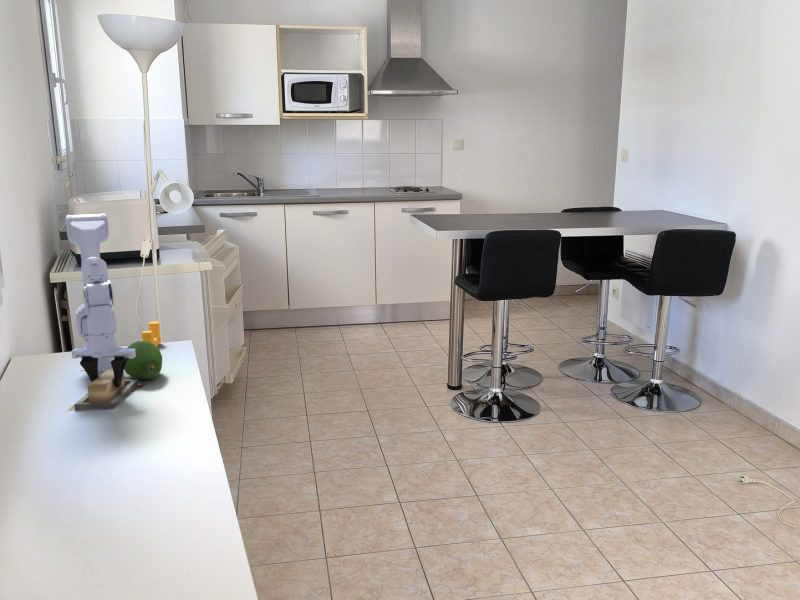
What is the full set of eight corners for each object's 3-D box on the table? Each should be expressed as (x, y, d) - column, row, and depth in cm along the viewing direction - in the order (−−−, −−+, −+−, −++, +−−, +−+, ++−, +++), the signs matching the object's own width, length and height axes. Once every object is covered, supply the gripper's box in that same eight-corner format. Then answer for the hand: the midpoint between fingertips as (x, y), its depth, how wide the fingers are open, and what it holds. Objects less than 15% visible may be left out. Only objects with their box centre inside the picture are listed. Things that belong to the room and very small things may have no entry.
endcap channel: (98, 386, 184) (97, 378, 183) (145, 387, 184) (144, 378, 183) (67, 413, 167) (66, 405, 166) (119, 414, 167) (118, 405, 166)
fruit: (170, 385, 185) (167, 348, 183) (129, 391, 181) (126, 353, 178) (158, 367, 198) (155, 333, 196) (120, 373, 193) (117, 338, 191)
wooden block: (109, 388, 181) (107, 369, 180) (125, 388, 181) (123, 369, 180) (89, 406, 169) (87, 386, 168) (106, 406, 169) (104, 386, 168)
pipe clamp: (146, 342, 222) (144, 322, 220) (160, 341, 222) (159, 321, 221) (137, 354, 210) (135, 332, 209) (152, 353, 211) (150, 332, 209)
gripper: (63, 336, 167) (69, 391, 170) (126, 337, 167) (131, 391, 170) (76, 328, 174) (82, 381, 177) (136, 328, 174) (141, 381, 177)
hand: (107, 385), depth 174 cm, fingers open, 5 cm apart
